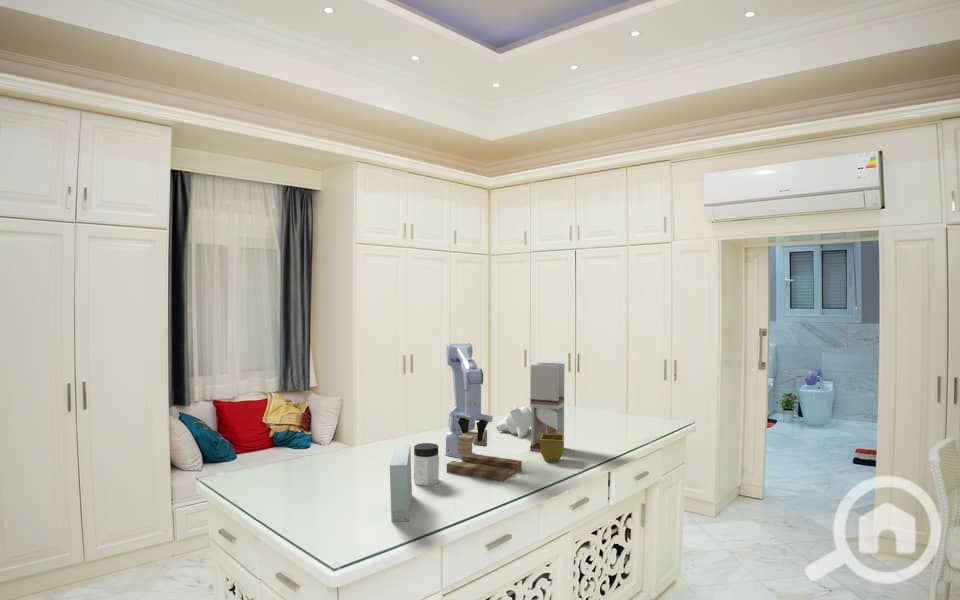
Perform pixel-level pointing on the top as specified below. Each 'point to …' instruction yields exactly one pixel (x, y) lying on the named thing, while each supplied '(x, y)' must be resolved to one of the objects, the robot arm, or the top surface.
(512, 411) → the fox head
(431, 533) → the top surface
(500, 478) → the board
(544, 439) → the flower pot
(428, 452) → the jar
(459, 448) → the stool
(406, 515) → the skincare box
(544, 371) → the grey dispenser tower
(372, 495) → the top surface
